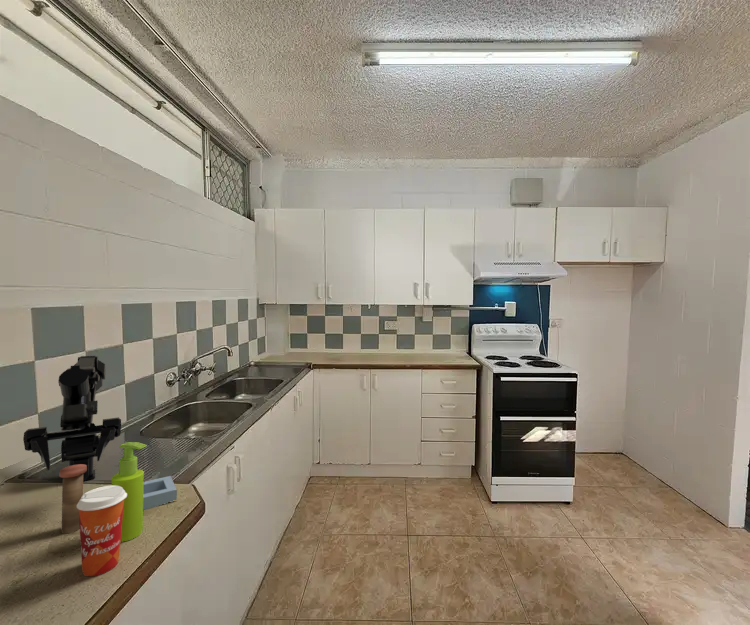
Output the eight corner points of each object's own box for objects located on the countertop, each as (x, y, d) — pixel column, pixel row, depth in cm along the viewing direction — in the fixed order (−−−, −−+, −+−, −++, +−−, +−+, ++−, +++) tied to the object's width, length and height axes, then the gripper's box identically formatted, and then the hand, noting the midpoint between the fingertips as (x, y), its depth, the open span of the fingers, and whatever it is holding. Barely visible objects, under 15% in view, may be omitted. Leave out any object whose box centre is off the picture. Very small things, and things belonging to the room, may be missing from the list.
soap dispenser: (130, 544, 77) (132, 449, 78) (103, 540, 79) (105, 446, 79) (152, 529, 83) (154, 440, 83) (127, 525, 85) (128, 437, 85)
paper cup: (70, 585, 66) (71, 507, 66) (80, 560, 72) (82, 488, 73) (123, 572, 69) (124, 497, 69) (128, 549, 76) (129, 481, 76)
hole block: (127, 496, 97) (127, 485, 98) (170, 486, 104) (170, 475, 104) (130, 513, 90) (130, 500, 90) (176, 501, 96) (176, 489, 96)
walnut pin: (58, 527, 83) (60, 467, 83) (85, 520, 86) (86, 462, 86) (57, 537, 79) (58, 475, 80) (85, 530, 82) (86, 469, 82)
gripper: (25, 395, 87) (16, 457, 78) (121, 386, 98) (123, 439, 89) (29, 421, 93) (21, 481, 84) (119, 410, 104) (120, 462, 95)
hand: (74, 464), depth 88 cm, fingers open, 9 cm apart
